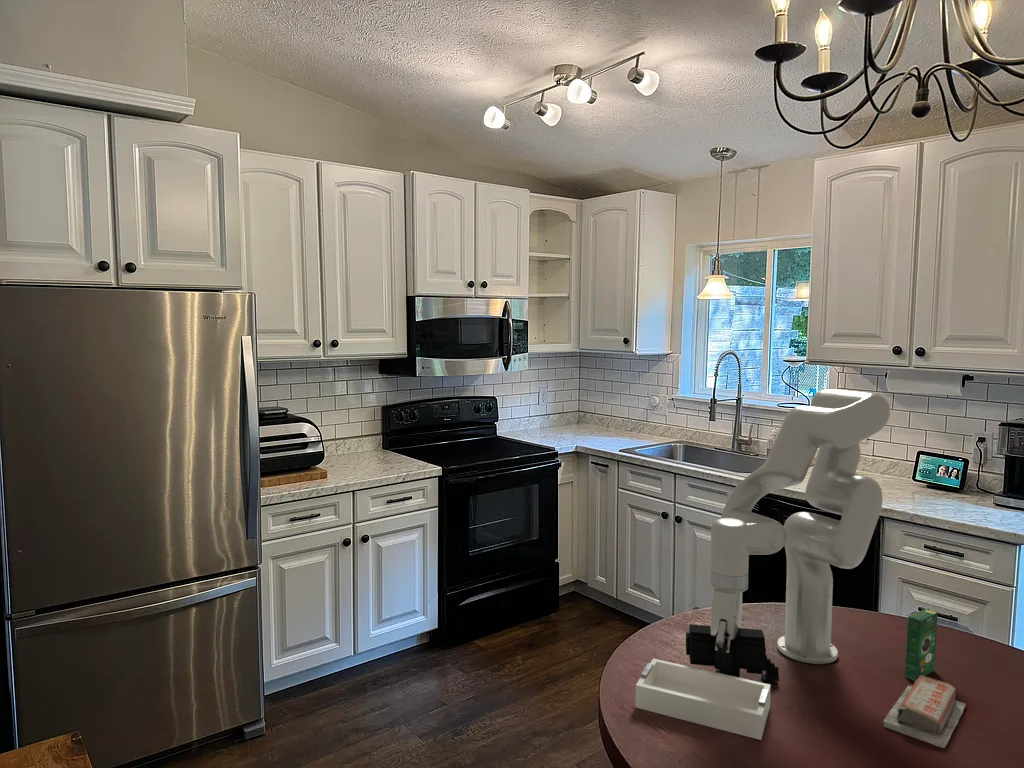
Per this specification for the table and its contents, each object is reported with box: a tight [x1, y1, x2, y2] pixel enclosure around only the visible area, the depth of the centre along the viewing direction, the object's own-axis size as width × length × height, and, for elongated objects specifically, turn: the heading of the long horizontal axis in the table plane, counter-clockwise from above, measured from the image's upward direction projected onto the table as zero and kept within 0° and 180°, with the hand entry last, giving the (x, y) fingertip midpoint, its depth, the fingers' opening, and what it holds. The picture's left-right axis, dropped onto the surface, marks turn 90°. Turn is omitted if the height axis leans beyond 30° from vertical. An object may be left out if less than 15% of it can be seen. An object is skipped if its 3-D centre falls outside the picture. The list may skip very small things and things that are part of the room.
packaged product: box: [882, 676, 967, 749], centre depth 129 cm, size 18×5×10 cm
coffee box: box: [904, 608, 939, 682], centre depth 144 cm, size 8×3×13 cm, turn 125°
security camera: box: [685, 623, 780, 685], centre depth 143 cm, size 7×18×10 cm, turn 78°
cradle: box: [634, 658, 772, 741], centre depth 132 cm, size 12×23×5 cm, turn 63°
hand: (726, 660), depth 143 cm, fingers closed on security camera, 8 cm apart
